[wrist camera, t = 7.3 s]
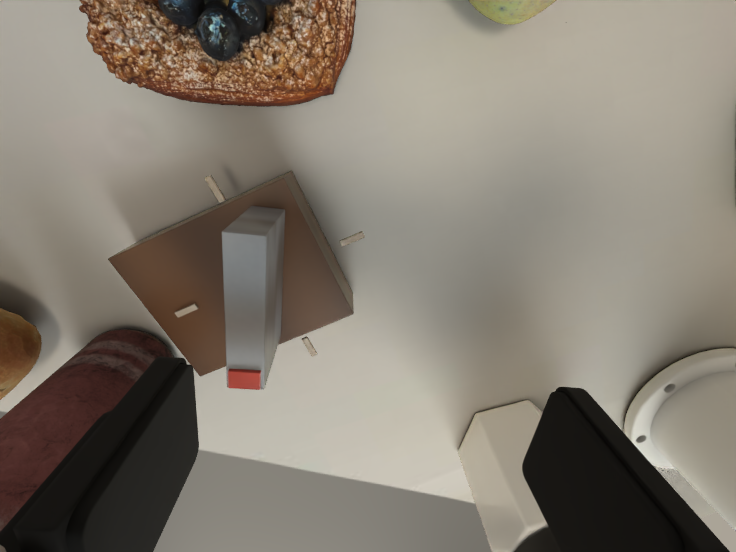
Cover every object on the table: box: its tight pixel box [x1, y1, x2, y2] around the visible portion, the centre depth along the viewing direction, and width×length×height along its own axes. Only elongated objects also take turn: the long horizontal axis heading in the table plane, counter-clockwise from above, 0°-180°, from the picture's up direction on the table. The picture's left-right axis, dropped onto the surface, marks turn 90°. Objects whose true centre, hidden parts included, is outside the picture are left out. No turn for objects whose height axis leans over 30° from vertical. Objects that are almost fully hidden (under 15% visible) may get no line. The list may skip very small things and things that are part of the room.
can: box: [0, 329, 173, 532], centre depth 20 cm, size 6×6×14 cm
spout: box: [222, 206, 285, 390], centre depth 18 cm, size 8×2×5 cm, turn 173°
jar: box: [458, 400, 561, 552], centre depth 26 cm, size 9×8×12 cm
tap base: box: [108, 171, 365, 376], centre depth 22 cm, size 14×12×3 cm
